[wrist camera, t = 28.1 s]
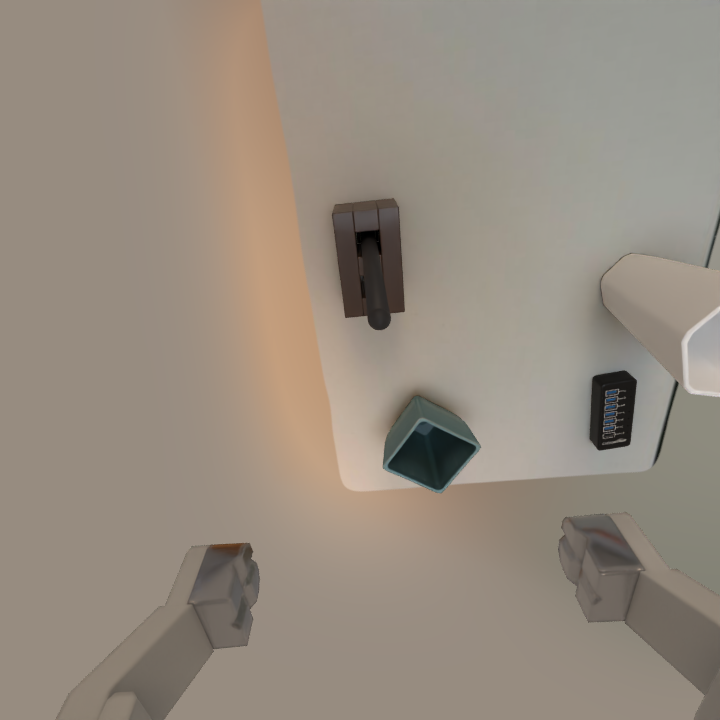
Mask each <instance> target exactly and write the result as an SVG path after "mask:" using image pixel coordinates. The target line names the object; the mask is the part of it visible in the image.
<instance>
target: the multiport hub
mask: <svg viewBox="0 0 720 720" xmlns="http://www.w3.org/2000/svg"><path fill="white" fill-rule="evenodd" d="M636 385H637V380H636V379H635V378H633V377H632V376H631V375H630V374H629V373H628V372H627V371H619V372H614V373H608V374H603V375H597V376H594V377H593V383H592V403H591V424H590V440H591V441H592V443H593V444H594V445H595V447H596V448H597V449H598V450H606V449H612V448H618V447H625V446H628V445H630V442H631V432H632V423H633V413H634V404H635V394H636Z"/></svg>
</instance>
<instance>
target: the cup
mask: <svg viewBox="0 0 720 720" xmlns="http://www.w3.org/2000/svg"><path fill="white" fill-rule="evenodd" d="M600 284H601V291H602V298H603V304H604V305H605V306H606V307H607V308H608V310H609V311H610V312H611V313H612V314H613V315H614V316H615V317H616V318H617V319H618V320H619V321H620V322H621V323H622V324H623V325H624V326H625V327H626V328H627V329H628V330H629V331H630V332H631V333H632V335H633V336H634V337H635V338H636V339H637V340H638V341H639V342H640V343H641V344H642V345H643V346H644V347H645V348H646V349H647V350H648V351H649V352H650V353H651V354H652V355H653V356H654V357H655V358H656V360H657V361H658V362H659V363H660V364H661V365H662V366H663V367H664V368H665V369H666V370H667V371H668V372H669V373H670V374H671V375H672V376H673V377H674V378H675V379H676V380H677V381H678V382H679V383H680V384H681V386H682V387H684V388H685V390H687V391H688V392H689V393H690V394H698V395H706V396H714V397H720V271H717V270H713V269H708V268H704V267H699V266H695V265H691V264H686V263H682V262H677V261H673V260H668V259H664V258H659V257H654V256H647V255H641V254H634V253H632V254H629V255H626V256H624V257H623V258H622V259H621V260H619V261H618V262H617V263H616V264H615V265H614V266H613V267H612V268H611V269H610V270H609V271H608V272H607V273H606V274H604V275H603V278H602V280H601V283H600Z"/></svg>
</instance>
